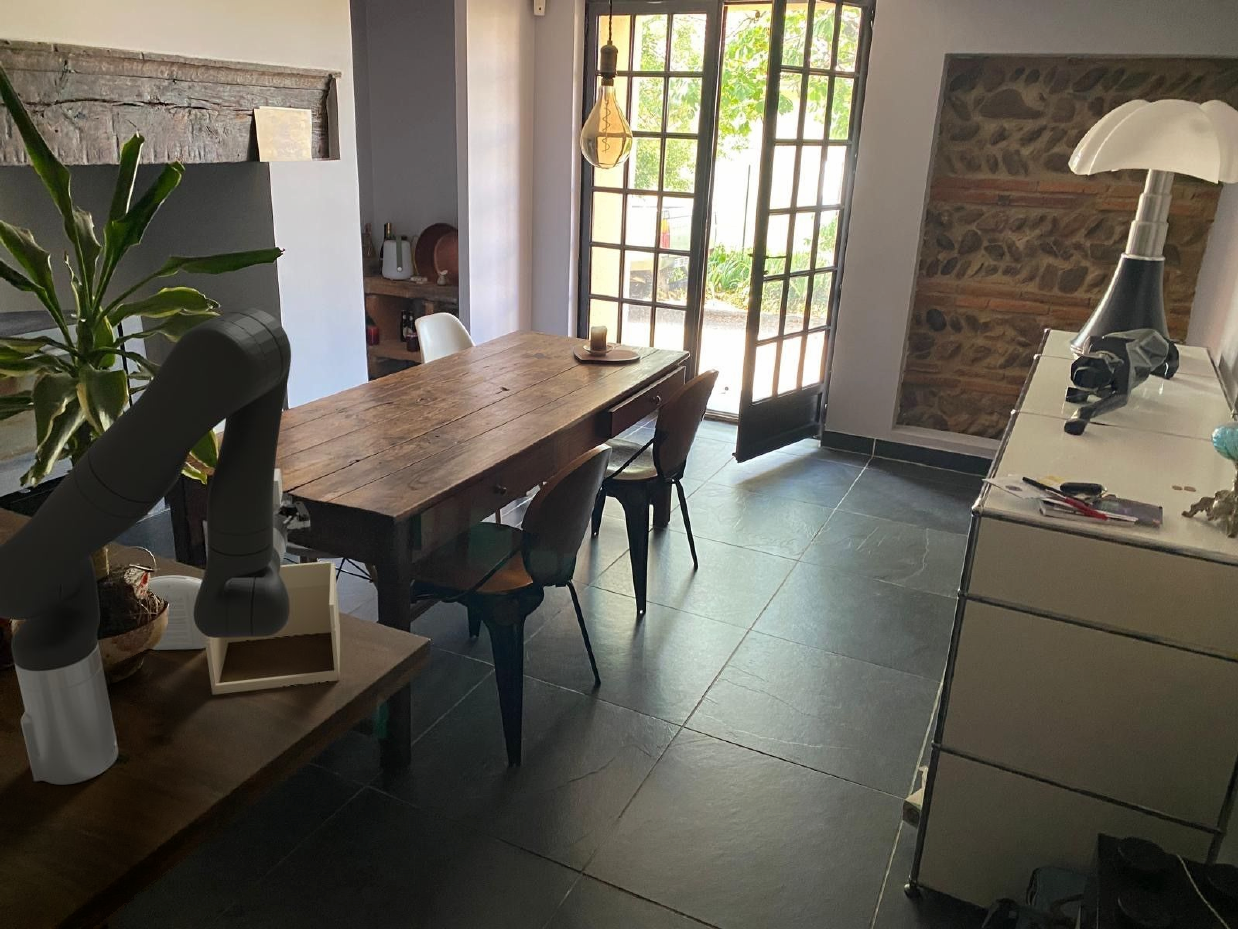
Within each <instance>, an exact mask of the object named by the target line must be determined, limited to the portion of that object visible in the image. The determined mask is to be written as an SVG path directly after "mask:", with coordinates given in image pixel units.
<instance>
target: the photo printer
mask: <svg viewBox="0 0 1238 929" xmlns="http://www.w3.org/2000/svg"><path fill="white" fill-rule="evenodd" d="M149 579H150V580H151V581H148V586H149V589H151V592H152V593H153V594H154V595H155V596H158V597H159V598H161V599H164V600H165V601H167V602H169V614H168V624H167V626H166V629H165V631H164V634H163V635H162V637H161V640H160V641H159V643H158V644H157V645H156V646H155V647H154V648H153V650H154V651H160V650H161V651H164V650H165V651H167V650H168V651H169V650H170V651H171V650H172V651H173V650H194V649H195V650H198V649H200V650H201V649H206V644H205V642H206V638H205V635H204V634H203V633H202V632H201V631H200V630H199V629H198V628H197V626H196V624H195V621H194V613H193V612H194V605H195V601H196V598H197V595H198V592H199V589H200V586H201V583H202V580H203V579H200V578H197V577H193V576H187V575H178V574H177V575H172V574H171V575H162V576H161V575H160V576H154V577H150V578H149ZM153 650H152V651H153Z"/></svg>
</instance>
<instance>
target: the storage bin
mask: <svg viewBox="0 0 1238 929" xmlns="http://www.w3.org/2000/svg"><path fill="white" fill-rule="evenodd" d="M336 572H337V571H336V563H335V562H332V561H328V560H327V561H320V562H317V561H316V562H306V563H294V564H293V563H291V564H282V565H281V567H280V571H279V575H280V577H281V579H282V580H283V582H284V584H285V587H286V589H287V592H288V596H289V602H290V612H289V617H288V620H287V622H286V624H285V625H284V627H283V628H282V629H281V630H280V631H279V632H277V633H275V634H273V635H270V636H264V637H254V636H252V637H227V638H213V637H208V636H206V635H205V638H206V642H205V644H206V648H205V650H206V657H207V663H208V664H207V665H208V671H209V672H208V673H209V679H210V686H211V694H212V695H220V694H221V695H223V694H230V693H240V692H248V691H257V690H265V689H276V688H283V686H285V687H291V686H290V685H294V686H296V685H295V684H303V685H311V684H318V682H320V683H326V681H329V682H336V681H340V666H341V665H340V662H341V661H340V660H341V658H340V656H341V653H340V652H341V650H340V649H341V626H340V623H341V622H340V611H339V599H338V598H339V597H338V585H337V576H336V575H337V574H336ZM312 633H319V634H327V633H328V634H329V633H330V634H331V645H332V656H333V669H334V670H325V671H318V672H317V671H316V672H308V673H299V674H289V675H281V676H280V675H279V676H273V677H272V676H271V677H262V678H254V679H252V678H251V679H246V680H243V679H242V680H236V681H227V682H225V681H224V682H221V676H222V672H223V668H224V663H225V660H226V655H227V649H228V646H229V643H238V642H239V643H240V642H247V641H246V640H249V641H258V640H266V639H265V638H269V639H275V638H274V637H279V638H284V637H283V636H289V637H295V636H294V635H299V636H302V635H301V634H309V635H313V634H312ZM290 635H291V636H290ZM257 639H258V640H257ZM315 682H316V683H315ZM310 683H311V684H310Z"/></svg>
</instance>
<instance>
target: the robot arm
mask: <svg viewBox="0 0 1238 929" xmlns="http://www.w3.org/2000/svg"><path fill="white" fill-rule="evenodd" d="M291 363H292V347H291V343H290V340H289V337H288V334H287V332H286V330H285V329H284V327H283V326H282V324H280V322H279V321H278V320H277V319H276V318H275V317H273V316H272V315H271V314H269V313H267V312H265V311H263V310H261V309H258V308H255V307H242V308H241V307H240V308H236V309H232V310H230V311H227V312H224V313H221V314H219V315H216V316H214V317H212V318H210V319H208V320H204V321H203V322H201V323H199V324H197V325H195V326H193V327H191V328H190V329H189V330H187V332H185V333H184V334H183V335H182V336H181V337H180V339H178V341H177V342H176V343H175V344H174V346H173V347H172V349H171V350H170V352H169V353H168V355H167V356H166V358H165V359H164V360H163V362H162V364H161V365H160V367H159V369H158V371H157V372H156V373H155V375H154V376H153V378H152V379H151V380H150V383H149V384H148V385H147V387H146V388H145V390H144V391H143V393H142V394H141V395H140V396H139V397H138V399H137V400H136V401H135V402H134V403H133V404H132V405H131V406H130V407H128V408H127V409H126V410H125V411H124V412H123V413H122V414H120V416H119V417H117V418H116V419H115V421H113V423H112V424H110V425H109V427H108V428H107V429H106V430H105V431H104V432H103V433H102V434H101V435H99V437H98V438H97V439H96V440H95V441H94V442H93V443H92V445H90V447H89V448H88V449H87V450H86V451H85V452H84V453H83V455H81V457H80V458H79V459H78V460H77V461H76V463H75V464H74V466H72V468H71V469H70V470H69V472H68V473H67V475H65V477H63V479H61V481H60V483H58V485H57V486H56V487H55V489H53V491H52V492H51V493H50V494H49V496H47V498H46V499H45V501H44V502H43V503H42V504H41V506H39V508H38V510H37V511H36V512H35V513H34V515H33V516H32V517H31V518H30V519H29V520H28V521H27V522H26V523H25V524H24V525H23V526H22V527H21V528H19V530H17V531H16V532H15V533H14V534H13V535H12V536H10V537H9V538H8V539H7V540H5V542H3V543H2V544H1V545H0V618H2V619H6V620H12V621H23V622H22V623H21V625H20V626H19V627H18V629H17V630H16V632H15V633H14V635H13V637H12V639H11V643H10V645H11V647H10V649H11V653H12V659H13V662H14V666H15V672H16V675H17V681H18V684H19V688H20V693H21V697H22V702H23V707H24V713H23V714H22V716H21V718H20V725H21V728H22V733H23V737H24V743H25V747H26V750H27V755H28V760H29V764H30V765H29V766H30V769H31V772H32V777H33V781H34V782H40V781H44V782H46V783H49V784H51V785H52V784H54V785H72V784H78V783H81V782H85V781H88V780H90V779H92V778H95V777H98V775H101V774H103V772H105V771H107V770H108V769H109V768H110V767H111V766H113V764H114V763H115V762H116V760H117V759H118V755H119V748H118V747H119V746H118V743H117V742H118V740H117V734H116V731H115V726H114V721H113V720H114V719H113V715H112V714H113V713H112V710H111V704H110V699H109V693H108V689H107V688H108V686H107V682H106V677H105V673H104V665H103V661H102V655H101V651H100V646H99V640H98V634H97V633H98V630H99V626H100V622H101V609H100V601H99V593H98V592H99V591H98V585H97V576H96V571H95V570H96V569H95V566H94V561H93V557H92V555H93V554H95V553H97V552H98V551H100V550H101V549H103V548H104V547H105V546H107V545H109V544H110V543H112V542H113V541H114V540H116V539H117V538H119V537H120V536H121V535H123V534H124V533H125V532H127V531H128V530H129V529H130V528H132V527H133V526H134V525H136V524H137V523H138V522H139V521H141V520H142V519H143V518H145V517H146V516H147V515H148V514H149V513H150V512H151V511H152V510H153V509H154V508H155V507H156V505H157V504H158V503H159V502H161V500H163V498H164V497H165V496H166V495H167V494H168V493H169V492H170V491H171V490H172V489H173V487H174V486H175V485H176V483H177V482H178V481H179V479H180V477H181V476H182V473H183V471H184V469H185V466H186V463H187V460H188V457H189V456H190V453H191V451H192V450H193V448H194V447H195V446H196V445H197V444H198V443H199V442H200V441H201V440H202V439H203V438H204V437H205V436H206V435H207V434H209V433H210V432H211V431H213V429H214V428H216V427H217V426H218V425H219V424H221V422H223V421H224V429H223V434H222V440H221V444H220V449H219V453H218V456H217V459H216V463H215V466H214V470H213V473H212V476H211V480H210V485H209V490H208V495H207V502H206V504H207V505H206V527H207V558H206V559H207V560H206V565H205V570H204V573H203V578H202V579H201V580H202V583H201V586H200V589H199V592H198V595H197V598H196V601H195V605H194V612H193V613H194V621H195V624H196V626H197V628H198V629H199V630H200V631H201V632H202V633H203V634H204V635H206V636H208V637H213V638H227V637H252V636H254V637H264V636H270V635H273V634H275V633H277V632H279V631H280V630H281V629H282V628H283V627H284V625H285V624H286V622H287V620H288V617H289V612H290V602H289V596H288V592H287V589H286V587H285V584H284V582H283V580H282V579H281V577H280V575H279V571H280V567H281V565H283V561H284V559H285V556H286V554H285V545H286V538H287V539H288V535H289V534H291V532H292V530H295V529H298V530H301V532H302V533H308V532H310V531H311V530H312V529H311V519H310V516H311V515H310V513H309V511H308V510H307V508H306V505H305V504H304V502H303V501H295V502H294V503H293V496H292V495H288V492H283V494H282V499H281V504H280V505H277V504H275V505H274V506H273V489H274V473H275V469H276V458H277V453H278V452H277V450H278V441H279V436H280V427H281V422H282V415H283V408H284V402H285V397H286V392H287V388H288V387H287V386H288V382H289V376H290V371H291ZM292 517H293V519H292V520H291V518H292Z"/></svg>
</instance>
